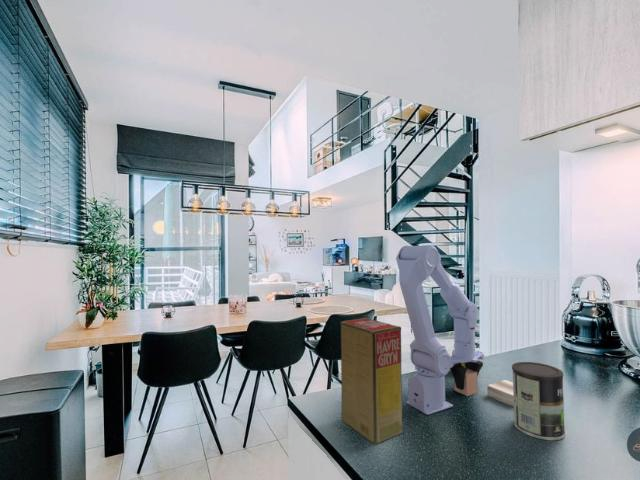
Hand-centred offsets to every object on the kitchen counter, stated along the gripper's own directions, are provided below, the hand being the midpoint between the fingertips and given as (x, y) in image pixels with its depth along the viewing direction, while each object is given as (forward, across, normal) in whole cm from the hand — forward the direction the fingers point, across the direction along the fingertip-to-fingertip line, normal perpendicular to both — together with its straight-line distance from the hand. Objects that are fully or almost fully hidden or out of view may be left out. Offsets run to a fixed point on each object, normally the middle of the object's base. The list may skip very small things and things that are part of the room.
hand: (465, 386), depth 101 cm
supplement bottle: (+2, +11, +11) cm, 16 cm away
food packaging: (+2, -36, -2) cm, 36 cm away
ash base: (+1, +7, -9) cm, 11 cm away
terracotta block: (+1, 0, 0) cm, 1 cm away
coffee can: (+2, -2, -22) cm, 22 cm away
